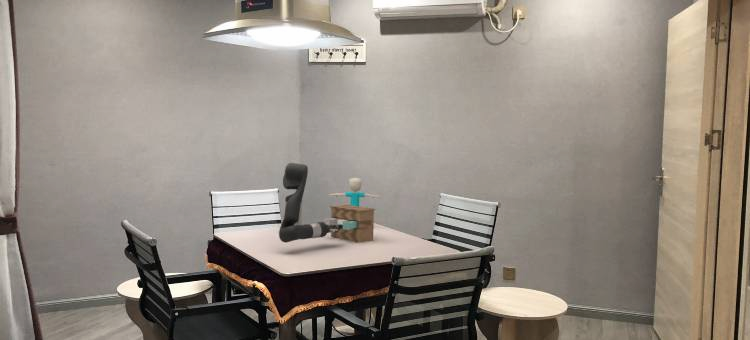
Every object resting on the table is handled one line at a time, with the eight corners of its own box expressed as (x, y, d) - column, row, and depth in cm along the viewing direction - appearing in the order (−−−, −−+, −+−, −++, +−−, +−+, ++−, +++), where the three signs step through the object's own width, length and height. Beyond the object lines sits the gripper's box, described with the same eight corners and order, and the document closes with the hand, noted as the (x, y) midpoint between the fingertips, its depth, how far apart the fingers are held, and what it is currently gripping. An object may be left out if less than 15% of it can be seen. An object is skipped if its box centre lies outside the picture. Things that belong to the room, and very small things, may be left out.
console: (329, 237, 356) (330, 206, 354) (344, 234, 363) (344, 204, 362) (359, 243, 340) (360, 210, 339) (374, 240, 348) (374, 208, 346)
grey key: (324, 225, 349) (324, 218, 349) (336, 224, 355) (336, 217, 355) (329, 226, 346) (329, 219, 346) (341, 224, 353) (341, 217, 352)
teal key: (342, 229, 339) (342, 221, 339) (354, 227, 346) (354, 220, 345) (347, 230, 337) (347, 222, 336) (359, 228, 343) (360, 220, 343)
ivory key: (337, 226, 346) (337, 219, 346) (349, 225, 353) (349, 218, 352) (342, 227, 344) (342, 220, 343) (354, 225, 350) (354, 218, 350)
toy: (380, 227, 390) (381, 177, 387) (379, 230, 380) (380, 178, 378) (330, 225, 393) (330, 176, 390) (327, 228, 383) (328, 177, 381)
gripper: (324, 224, 319) (350, 220, 331) (307, 221, 328) (333, 217, 340) (324, 239, 319) (350, 235, 332) (307, 235, 329) (332, 232, 341)
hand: (341, 226), depth 336 cm, fingers closed
